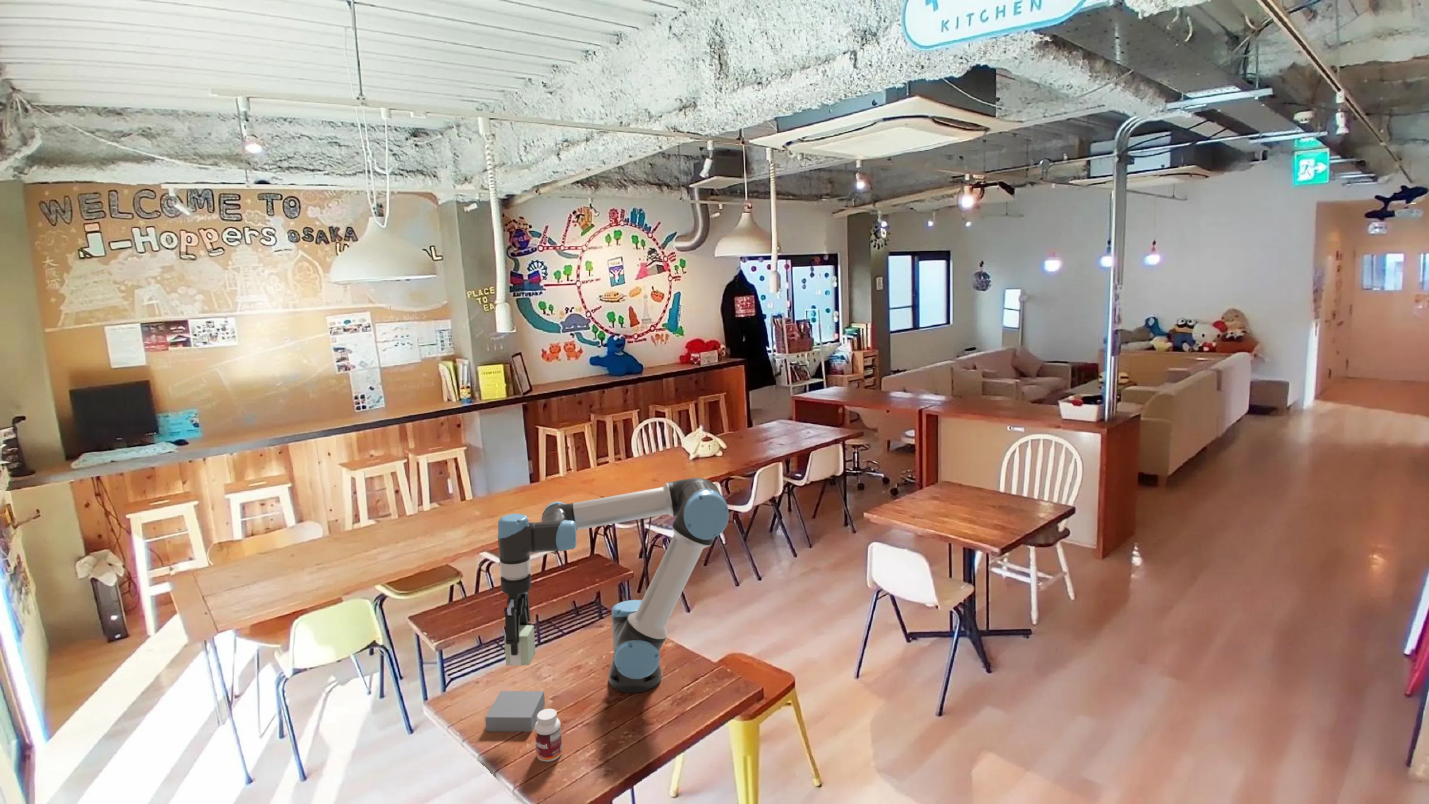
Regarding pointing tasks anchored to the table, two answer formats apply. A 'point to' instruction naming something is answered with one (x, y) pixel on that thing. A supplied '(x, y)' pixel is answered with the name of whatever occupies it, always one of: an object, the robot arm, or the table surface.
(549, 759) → the pill bottle
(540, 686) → the table surface
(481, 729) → the table surface
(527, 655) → the sage block
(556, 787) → the table surface
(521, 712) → the slate block
